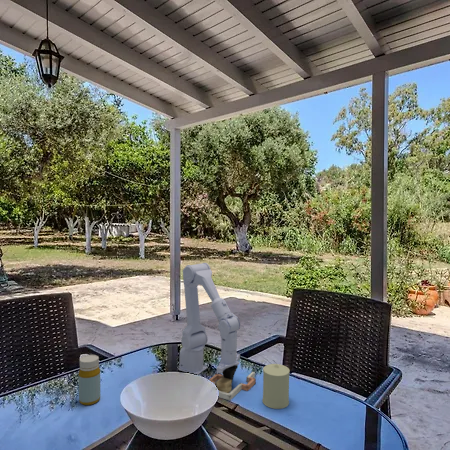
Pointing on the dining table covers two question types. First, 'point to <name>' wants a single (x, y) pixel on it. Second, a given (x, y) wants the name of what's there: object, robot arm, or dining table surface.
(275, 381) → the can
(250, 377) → the cream and orange frame
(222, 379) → the block
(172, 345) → the dining table surface
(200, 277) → the robot arm
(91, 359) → the bottle
